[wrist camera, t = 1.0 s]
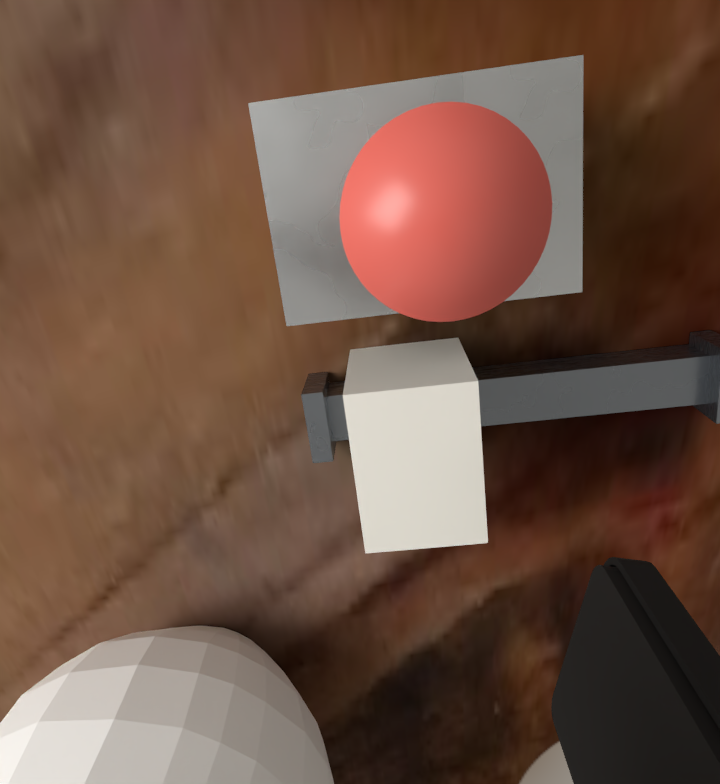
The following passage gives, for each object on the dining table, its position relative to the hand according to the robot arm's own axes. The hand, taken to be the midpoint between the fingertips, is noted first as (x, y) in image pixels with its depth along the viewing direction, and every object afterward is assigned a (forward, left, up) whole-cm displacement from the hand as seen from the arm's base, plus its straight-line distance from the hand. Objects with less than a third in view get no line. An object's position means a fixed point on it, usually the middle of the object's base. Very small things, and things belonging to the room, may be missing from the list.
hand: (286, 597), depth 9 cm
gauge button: (-3, -5, -13) cm, 14 cm away
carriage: (-2, +5, -22) cm, 22 cm away
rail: (-7, +5, -22) cm, 23 cm away
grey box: (-3, -5, -22) cm, 22 cm away
